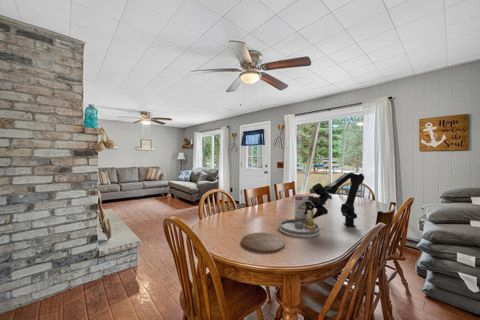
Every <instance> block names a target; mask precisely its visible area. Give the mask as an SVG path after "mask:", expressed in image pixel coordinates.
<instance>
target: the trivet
mask: <svg viewBox="0 0 480 320" xmlns="http://www.w3.org/2000/svg"><path fill="white" fill-rule="evenodd" d="M241 245H242V247H243V248H245V249H246V250H247V251H250V252H251V251H252V252H255V253H261V254H270V253H276V252H280V251H282V250H284V248H285V247H286V246H285V245H286V242H285V239H284V238H283V237H282V236H279V235H277V234H274V233H270V232H252V233H248V234H245V235H244V236H242V238H241Z"/></svg>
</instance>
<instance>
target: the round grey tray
mask: <svg viewBox="0 0 480 320" xmlns="http://www.w3.org/2000/svg"><path fill="white" fill-rule="evenodd" d="M305 224H307V221H306V220H299V219H295V218H292V219H284V220H281V221H280V222H279V226H278V228H279V230H280V231H281V233H284V234H286V235H289V236H291V237H292V236H293V237H299V238H301V237H302V238H310V237H316V236H318V235H320V234H321V226H320V225H319V224H317V223H315V222H313V225H315V226H316V229H314V230H311V229H310V230H309V229H306V228H305Z"/></svg>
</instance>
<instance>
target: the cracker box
mask: <svg viewBox="0 0 480 320" xmlns="http://www.w3.org/2000/svg"><path fill="white" fill-rule="evenodd" d="M294 195H295V196H294V199H295V200H294V219H299V220H306V221H307V214H306V215H304V213H305V210H306V205H305V202H306V201H309V202H311V203H312V201H310V200H308V198H309V196H312V197H315V196H314V195H313V194H305V193H304V194H302V193H295V194H294ZM312 204H313V203H312ZM312 210H313V215H314V214H315V211H314V210H315V208H314V209H312ZM314 221H315V218H314V219H313V222H314ZM314 223H315V222H314Z"/></svg>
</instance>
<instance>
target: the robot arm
mask: <svg viewBox="0 0 480 320" xmlns="http://www.w3.org/2000/svg"><path fill="white" fill-rule="evenodd" d="M349 179H350V183H351V184H350V188H349V192H348V194H347V198H346V200H345V202H344V203H342V204H341V207H340V212H341V215H342V216H344V222H343V223H342V224H343V225H344V226H345V227H349V228H350V227H354V228H355V227H357V226H356V225H355V219H358V215H357V214H356V212H355V205H354V204H355V200H356V197H357V194H358V190H359V186H360V185H362V184H363V182H364V180H365V176H364V174H363V173H358V172H357V173H356V172H349V171H347V172H346V171H345V172H344V173H343V174H342V175H341V176H340V177H338V178H337V179H336V180H335V181H332V182H331V183H328V184H326V185H325V186H323V185H322V184H321V183H320V182H318V183H316V184H314V185H313V186H312V188H311V189H312V191H313V192H314V193H315V194H316V196H314V197H312V196H309V198H308V200H310V201H312V203H313V204H312V203H311V202H309V201H306V202H305V205H306V210H305V213H304V215H306V214H307V210H312V209H314V210H315V209H316V211H315V212H314V215H313V217H312V218H313V219H314V220H315V219H316V218H319V217H321V216H325V215H327V214H328V213H329V210H328V208H326V205H327V203H326V202H327V201H328V200H332V199H333V197H332V195H335V194H336V193H337V192H338V190H339V188H340V187H341V186H342V185H343V184H345V183H346V182H347V181H348V180H349Z"/></svg>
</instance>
